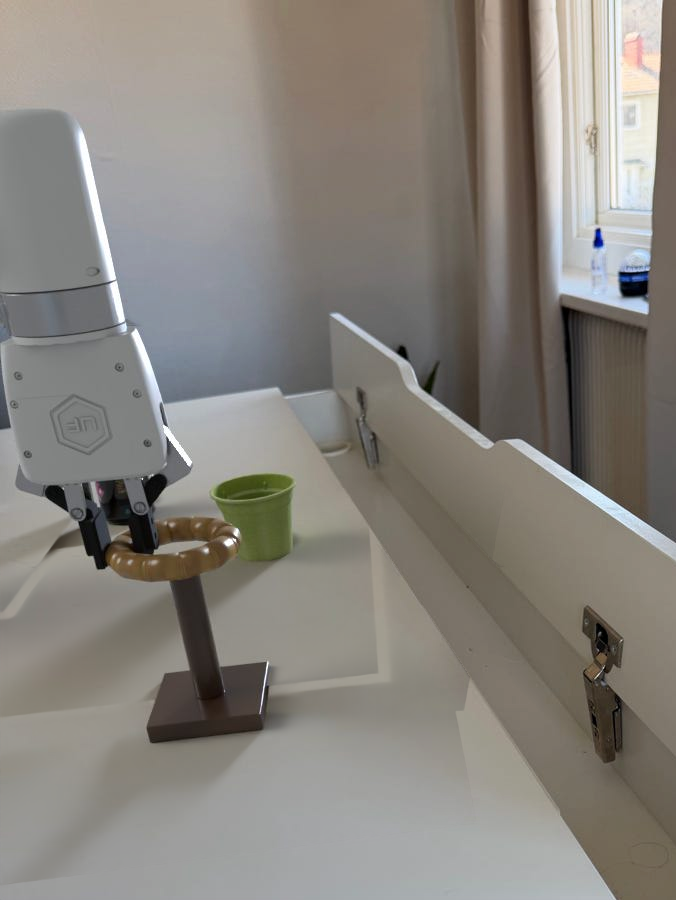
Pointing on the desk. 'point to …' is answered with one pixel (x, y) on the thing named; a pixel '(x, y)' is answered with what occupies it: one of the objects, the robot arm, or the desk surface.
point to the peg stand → (205, 680)
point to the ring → (180, 564)
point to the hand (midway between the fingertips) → (126, 559)
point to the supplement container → (114, 500)
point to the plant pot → (258, 513)
